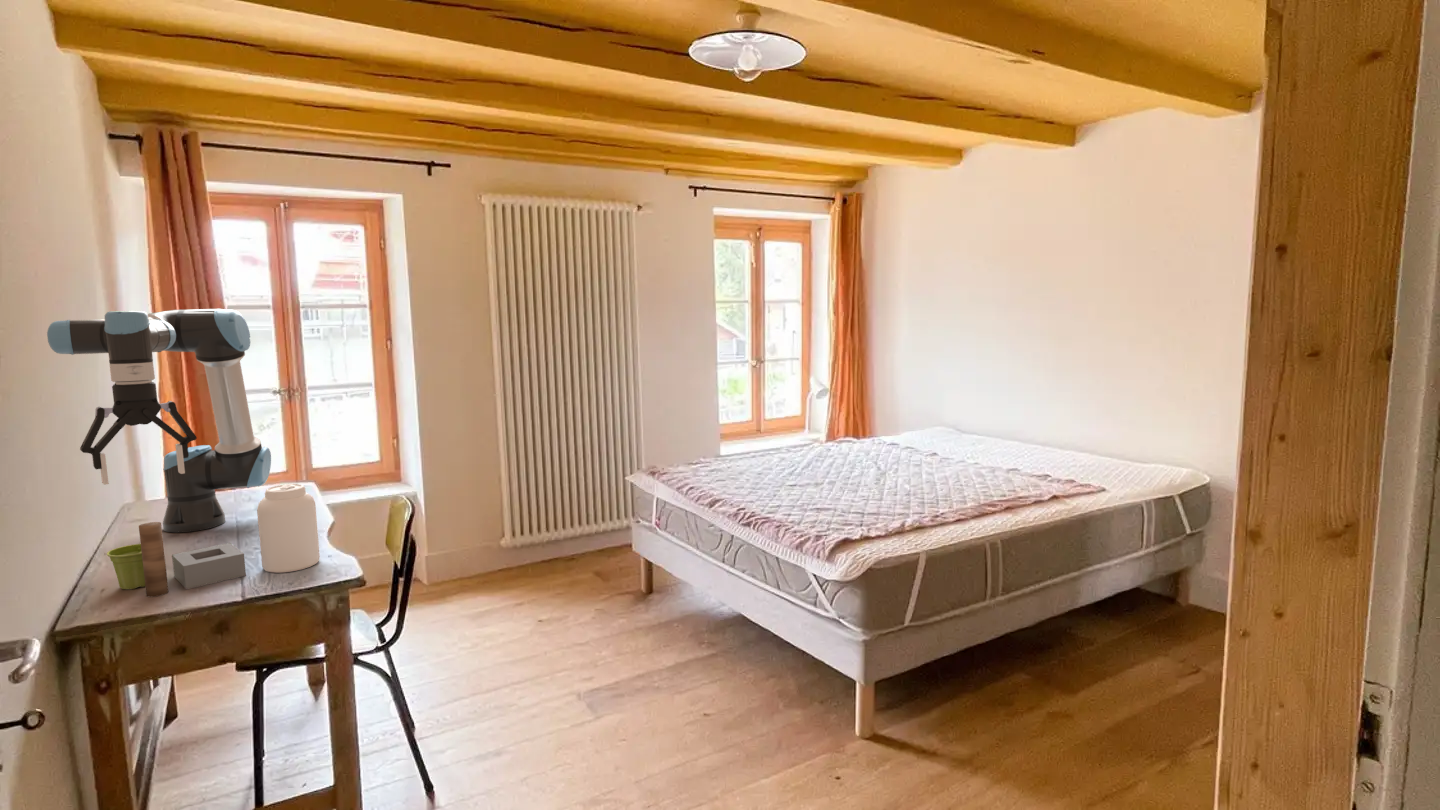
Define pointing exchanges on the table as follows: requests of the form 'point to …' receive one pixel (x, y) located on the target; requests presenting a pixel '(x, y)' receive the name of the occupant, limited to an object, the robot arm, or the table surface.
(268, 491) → the can
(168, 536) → the table surface
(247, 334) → the robot arm
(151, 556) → the dowel
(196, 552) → the box
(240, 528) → the table surface
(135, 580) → the plant pot
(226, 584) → the table surface
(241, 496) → the table surface
